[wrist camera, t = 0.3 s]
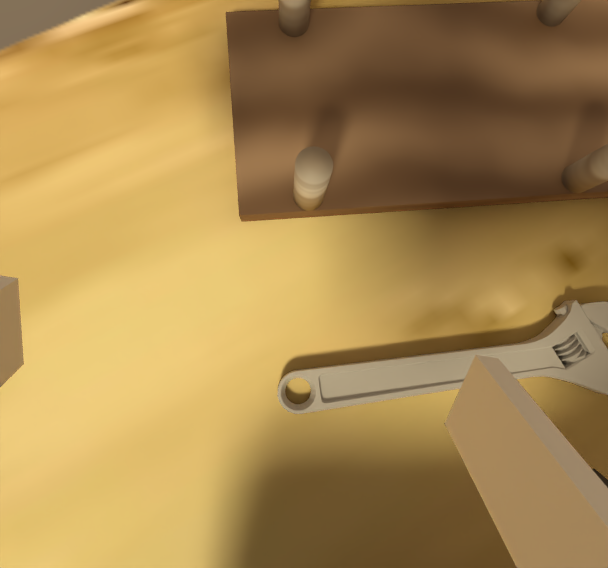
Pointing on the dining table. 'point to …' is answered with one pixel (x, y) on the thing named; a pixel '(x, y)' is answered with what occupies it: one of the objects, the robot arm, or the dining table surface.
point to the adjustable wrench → (467, 365)
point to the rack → (418, 106)
